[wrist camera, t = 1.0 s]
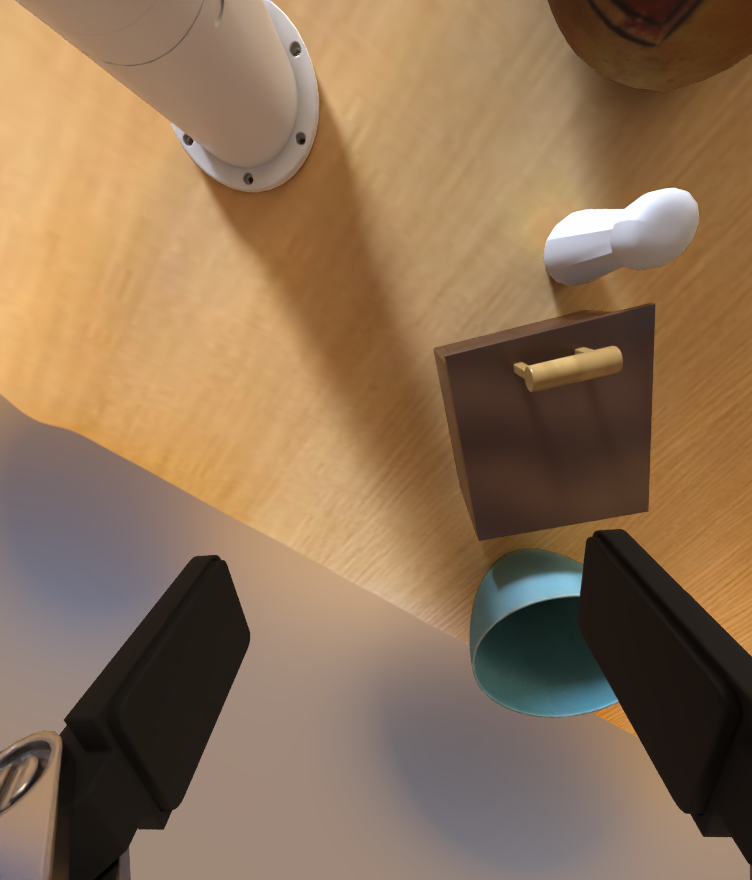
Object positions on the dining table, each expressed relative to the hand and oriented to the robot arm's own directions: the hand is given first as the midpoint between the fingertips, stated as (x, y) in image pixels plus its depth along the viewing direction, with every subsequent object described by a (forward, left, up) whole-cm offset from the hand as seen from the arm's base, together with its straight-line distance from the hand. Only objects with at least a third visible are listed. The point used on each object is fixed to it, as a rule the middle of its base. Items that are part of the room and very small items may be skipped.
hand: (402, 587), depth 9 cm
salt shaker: (-11, +15, -31) cm, 36 cm away
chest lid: (+4, +13, -21) cm, 25 cm away
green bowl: (+27, +18, -31) cm, 45 cm away
